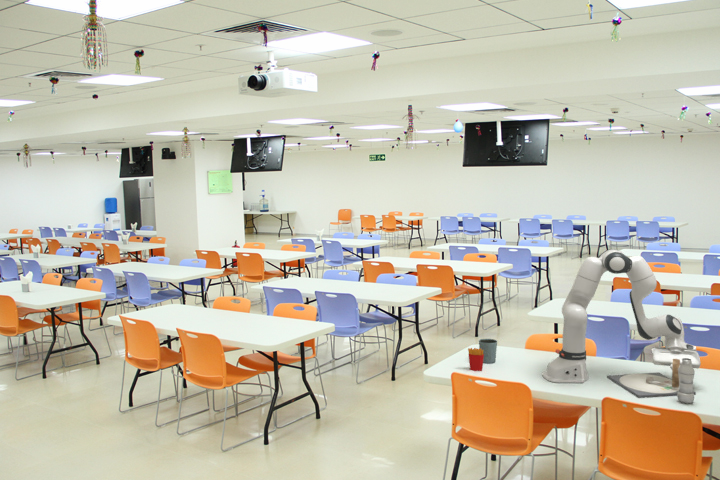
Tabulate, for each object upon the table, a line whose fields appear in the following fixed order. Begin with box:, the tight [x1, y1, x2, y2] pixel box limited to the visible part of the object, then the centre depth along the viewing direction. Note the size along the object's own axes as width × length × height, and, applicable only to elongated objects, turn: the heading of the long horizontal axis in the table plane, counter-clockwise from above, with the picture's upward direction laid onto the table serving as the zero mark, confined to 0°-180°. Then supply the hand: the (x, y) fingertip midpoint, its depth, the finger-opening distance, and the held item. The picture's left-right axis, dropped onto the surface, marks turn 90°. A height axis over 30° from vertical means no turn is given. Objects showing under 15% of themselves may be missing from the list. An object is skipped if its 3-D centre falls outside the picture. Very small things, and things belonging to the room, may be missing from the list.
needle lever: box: [646, 359, 680, 388], centre depth 273 cm, size 15×3×14 cm, turn 39°
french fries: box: [467, 347, 484, 372], centre depth 308 cm, size 8×4×12 cm, turn 69°
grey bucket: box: [478, 338, 498, 365], centre depth 322 cm, size 10×10×12 cm
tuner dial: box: [606, 372, 697, 399], centre depth 278 cm, size 28×28×2 cm
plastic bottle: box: [676, 358, 695, 404], centre depth 256 cm, size 6×7×20 cm
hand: (676, 374), depth 270 cm, fingers closed
